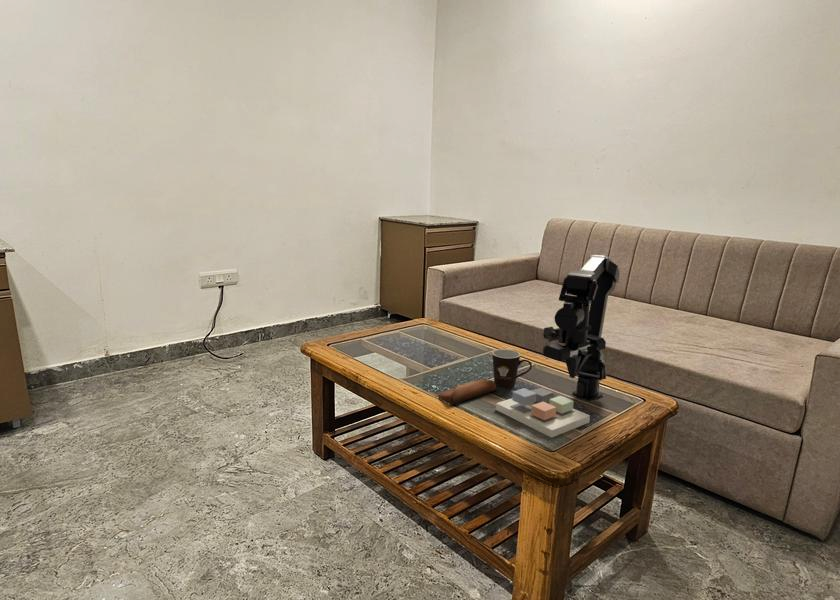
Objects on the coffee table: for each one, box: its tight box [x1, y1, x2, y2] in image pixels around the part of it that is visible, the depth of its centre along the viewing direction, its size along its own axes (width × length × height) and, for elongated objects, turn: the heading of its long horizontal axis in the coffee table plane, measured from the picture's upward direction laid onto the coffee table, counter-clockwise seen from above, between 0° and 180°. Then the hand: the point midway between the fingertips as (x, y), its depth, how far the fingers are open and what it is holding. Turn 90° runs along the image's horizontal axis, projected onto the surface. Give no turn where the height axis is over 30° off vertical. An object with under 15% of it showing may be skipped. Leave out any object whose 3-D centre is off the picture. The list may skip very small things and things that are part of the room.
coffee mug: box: [491, 348, 533, 389], centre depth 171 cm, size 12×9×10 cm
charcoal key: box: [531, 387, 554, 403], centre depth 155 cm, size 4×4×2 cm
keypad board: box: [495, 398, 591, 439], centre depth 151 cm, size 15×20×2 cm
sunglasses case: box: [436, 379, 497, 406], centre depth 164 cm, size 18×7×7 cm, turn 129°
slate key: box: [511, 387, 536, 406], centre depth 150 cm, size 4×4×2 cm
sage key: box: [549, 395, 574, 414], centre depth 149 cm, size 4×4×2 cm
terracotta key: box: [531, 402, 556, 420], centre depth 145 cm, size 4×4×2 cm
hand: (572, 377), depth 147 cm, fingers closed
